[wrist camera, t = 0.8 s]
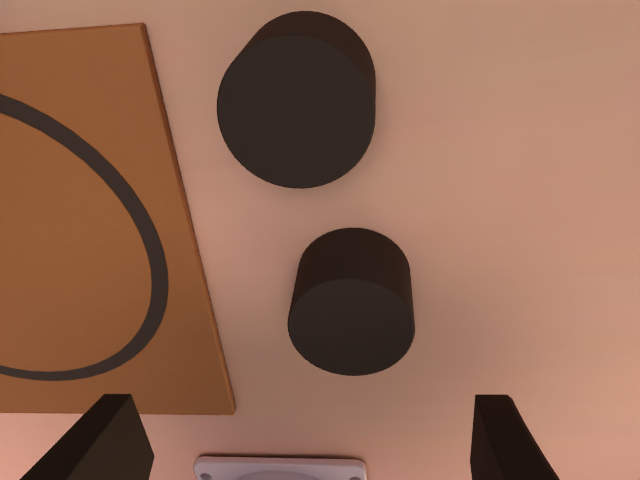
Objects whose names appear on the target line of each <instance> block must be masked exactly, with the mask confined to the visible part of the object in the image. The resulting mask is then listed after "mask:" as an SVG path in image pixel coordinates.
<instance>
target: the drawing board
mask: <svg viewBox="0 0 640 480" xmlns="http://www.w3.org/2000/svg"><path fill="white" fill-rule="evenodd" d="M104 394H131V395H132V397H133V400H134V403H135V405H136V408H137V411H138V413H139V414H176V415H234V413H235V409H236V408H235V404H234V399H233V395H232V391H231V387H230V382H229V378H228V374H227V370H226V366H225V361H224V357H223V353H222V349H221V345H220V340H219V336H218V332H217V328H216V323H215V319H214V315H213V311H212V307H211V302H210V298H209V294H208V290H207V285H206V281H205V277H204V273H203V269H202V264H201V260H200V256H199V252H198V248H197V243H196V239H195V235H194V231H193V226H192V222H191V218H190V214H189V210H188V205H187V201H186V197H185V193H184V188H183V184H182V180H181V176H180V172H179V167H178V163H177V159H176V155H175V151H174V146H173V142H172V138H171V134H170V129H169V125H168V121H167V117H166V113H165V108H164V104H163V100H162V96H161V91H160V87H159V83H158V79H157V75H156V70H155V66H154V62H153V58H152V54H151V49H150V45H149V41H148V37H147V32H146V28H145V24H144V23H135V24H122V25H108V26H95V27H82V28H68V29H55V30H42V31H28V32H15V33H2V34H0V413H77V414H85V413H86V412H87V411H88V410H89V409H90V408H91V407H92V406H93V405H94V404H95V403H96V402H97V401H98V400H99V399H100V398H101V397H102V396H103V395H104Z"/></svg>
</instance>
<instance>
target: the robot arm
mask: <svg viewBox="0 0 640 480" xmlns="http://www.w3.org/2000/svg"><path fill="white" fill-rule="evenodd" d="M153 460H154V453H153V451H152V448H151V445H150V443H149V440H148V437H147V435H146V432H145V429H144V427H143V424H142V421H141V419H140V416H139V413H138V411H137V408H136V405H135V403H134V400H133V397H132V395H131V394H104V395H103V396H102V397H101V398H100V399H99V400H98V401H97V402H96V403H95V404H94V405H93V406H92V407H91V408H90V409H89V410H88V411H87V412H86V413H85V414H84V415H83V416H82V417H81V418H80V419H79V420H78V421H77V422H76V423H75V424H74V425H73V426H72V427H71V428H70V429H69V430H68V431H67V432H66V433H65V434H64V435H63V436H62V438H61V439H60V440H59V441H58V442H57V443H56V444H55V445H54V446H53V447H52V448H51V449H50V450H49V451H48V452H47V453H46V454H45V455H44V456H43V457H42V458H41V459H40V460H39V461H38V462H37V463H36V464H35V465H34V466H33V467H32V468H31V469H30V470H29V471H28V472H27V473H26V474H25V475H24V476H23V477H22V478H21V479H20V480H149V476H150V472H151V468H152V464H153ZM470 464H471V473H472V480H560V479H559V478H558V476H557V475H556V473H555V472H554V470H553V469H552V467H551V466H550V464H549V462H548V461H547V459H546V458H545V456H544V455H543V453H542V451H541V450H540V448H539V446H538V445H537V443H536V441H535V440H534V438H533V436H532V435H531V433H530V431H529V430H528V428H527V426H526V424H525V422H524V421H523V419H522V417H521V415H520V413H519V411H518V410H517V408H516V406H515V404H514V402H513V400H512V398H510V397H509V396H508V395H475V407H474V419H473V432H472V444H471V456H470ZM193 469H194V472H195V475H196V478H197V480H367V477H366V466H365V464H364V463H363V462H362V461H360V460H356V459H312V458H259V457H207V456H204V457H199V458H197V459H196V460H195V463H194V466H193Z"/></svg>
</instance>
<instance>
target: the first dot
mask: <svg viewBox="0 0 640 480" xmlns="http://www.w3.org/2000/svg"><path fill="white" fill-rule="evenodd" d="M288 332H289V336H290V339H291V341H292V343H293V345H294V347H295V348H296V350H297V351H298V352H299V353H300V354H301V355H302V356H303V357H304V358H305V359H306V360H307V361H309V362H310V363H311V364H313V365H315V366H316V367H318V368H321V369H323V370H325V371H328V372H331V373H335V374H340V375H348V376H360V375H368V374H373V373H377V372H380V371H382V370H385V369H387V368H389V367H391V366H392V365H394V364H395V363H397V362H398V361H399V360H400V359H401V358H402V357H403V356H404V355H405V354H406V353H407V351H408V350H409V348H410V346H411V344H412V342H413V339H414V335H415V322H414V311H413V299H412V288H411V277H410V268H409V264H408V261H407V259H406V257H405V255H404V253H403V252H402V251H401V249H400V248H399V247H398V246H397V245H396V244H395V243H394V242H393V241H391V240H390V239H388V238H387V237H385V236H383V235H381V234H379V233H377V232H374V231H371V230H367V229H360V228H345V229H339V230H335V231H332V232H329V233H327V234H325V235H322V236H321V237H319V238H318V239H316V240H315V241H314V242H313V243H311V244H310V246H309V247H308V248H307V249H306V250H305V252H304V253H303V255H302V257H301V260H300V263H299V267H298V272H297V277H296V282H295V287H294V292H293V297H292V301H291V306H290V311H289V316H288Z"/></svg>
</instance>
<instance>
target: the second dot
mask: <svg viewBox="0 0 640 480" xmlns="http://www.w3.org/2000/svg"><path fill="white" fill-rule="evenodd" d="M375 85H376V79H375V70H374V65H373V61H372V59H371V56H370V53H369V51H368V49H367V48H366V46H365V44H364V43H363V41H362V40H361V38H360V37H359V36H358V35H357V34H356V33H355V32H354V31H353V30H352V29H351V28H350V27H349V26H347V25H346V24H345V23H343V22H341V21H340V20H338V19H336V18H334V17H332V16H329V15H326V14H323V13H319V12H312V11H298V12H291V13H288V14H284V15H281V16H279V17H277V18H275V19H273V20H271V21H270V22H268V23H267V24H265V25H264V26H263V27H262V28H261V29H260V30H259V31H258V32H257V33H256V34H255V35H254V36H253V38H252V39H251V40H250V41H249V42H248V44H247V45H246V46H245V47H244V48H243V50H242V51H241V52H240V53H239V55H238V56H237V57H236V58H235V59H234V61H233V62H232V63H231V64H230V66H229V68H228V69H227V71H226V72H225V74H224V77H223V79H222V81H221V84H220V88H219V91H218V97H217V117H218V123H219V127H220V131H221V133H222V136H223V138H224V141H225V143H226V144H227V146H228V148H229V150H230V151H231V153H232V154H233V155H234V157H235V158H236V159H237V160H238V161H239V162H240V163H241V165H243V166H244V167H245V168H246V169H247V170H248V171H250V172H251V173H253V174H254V175H256V176H257V177H259V178H261V179H263V180H265V181H267V182H269V183H272V184H275V185H278V186H282V187H288V188H313V187H317V186H322V185H325V184H327V183H330V182H332V181H334V180H336V179H338V178H340V177H342V176H343V175H345V174H346V173H348V172H349V171H350V170H351V169H352V168H353V167H354V166H355V165H356V164H357V163H358V162H359V161H360V159H361V158H362V157H363V155H364V154H365V152H366V150H367V148H368V146H369V144H370V142H371V139H372V135H373V132H374V126H375Z"/></svg>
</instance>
